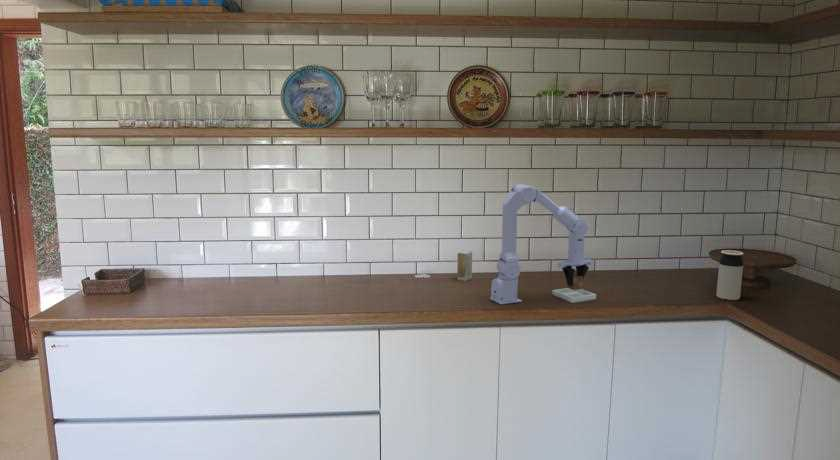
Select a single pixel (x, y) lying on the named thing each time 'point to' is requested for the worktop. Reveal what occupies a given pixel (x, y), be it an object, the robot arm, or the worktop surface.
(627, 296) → the worktop surface
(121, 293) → the worktop surface
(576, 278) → the walnut block
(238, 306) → the worktop surface
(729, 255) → the travel mug
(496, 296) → the robot arm
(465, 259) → the skincare box
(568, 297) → the tray
